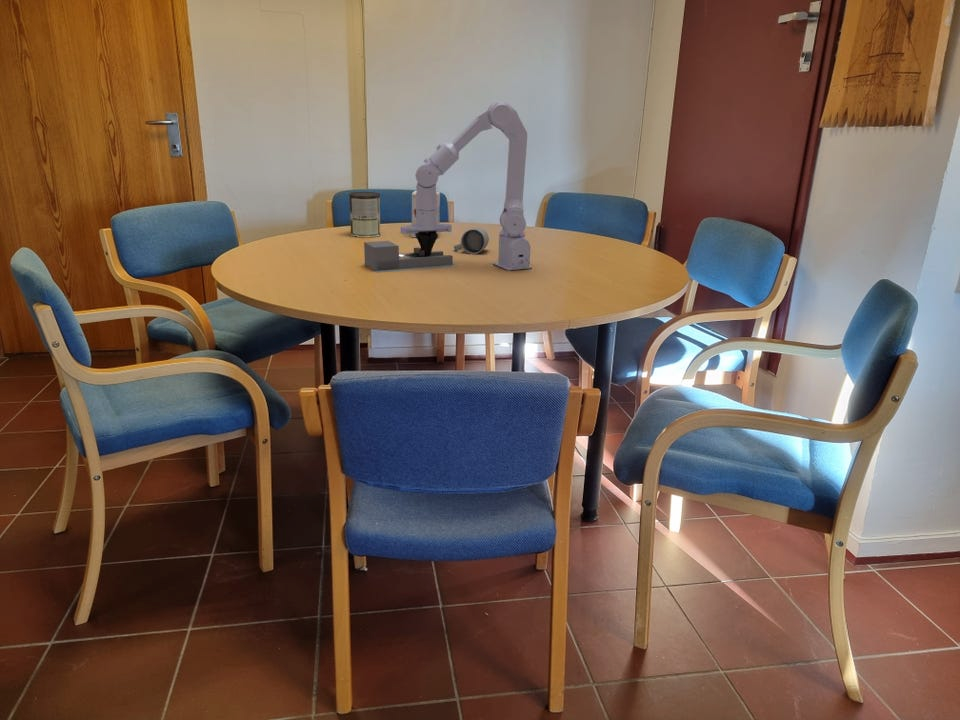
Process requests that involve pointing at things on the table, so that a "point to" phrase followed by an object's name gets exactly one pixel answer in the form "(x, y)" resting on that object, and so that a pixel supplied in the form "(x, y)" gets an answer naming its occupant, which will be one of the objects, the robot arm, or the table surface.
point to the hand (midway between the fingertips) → (426, 258)
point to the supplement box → (415, 210)
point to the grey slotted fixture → (387, 258)
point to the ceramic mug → (473, 241)
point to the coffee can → (365, 214)
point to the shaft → (413, 254)
